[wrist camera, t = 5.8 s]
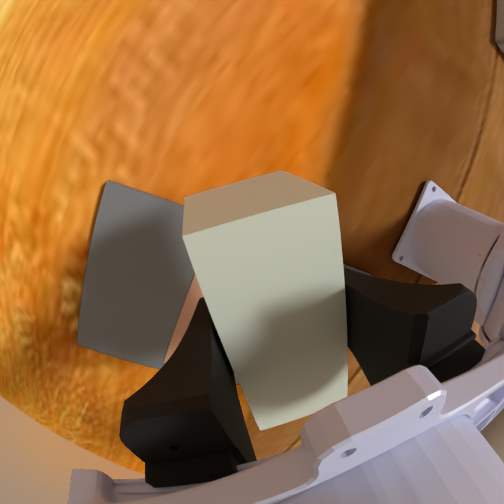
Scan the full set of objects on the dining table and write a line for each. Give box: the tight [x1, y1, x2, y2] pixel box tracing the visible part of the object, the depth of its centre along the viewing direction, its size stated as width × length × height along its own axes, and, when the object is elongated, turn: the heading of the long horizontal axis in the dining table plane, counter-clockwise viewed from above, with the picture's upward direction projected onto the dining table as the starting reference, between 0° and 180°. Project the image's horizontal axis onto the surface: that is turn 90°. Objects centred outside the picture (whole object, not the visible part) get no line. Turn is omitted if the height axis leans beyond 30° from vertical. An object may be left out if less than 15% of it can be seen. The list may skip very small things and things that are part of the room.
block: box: [182, 170, 348, 431], centre depth 12 cm, size 10×4×5 cm, turn 13°
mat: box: [77, 180, 372, 384], centre depth 22 cm, size 22×14×1 cm, turn 66°
